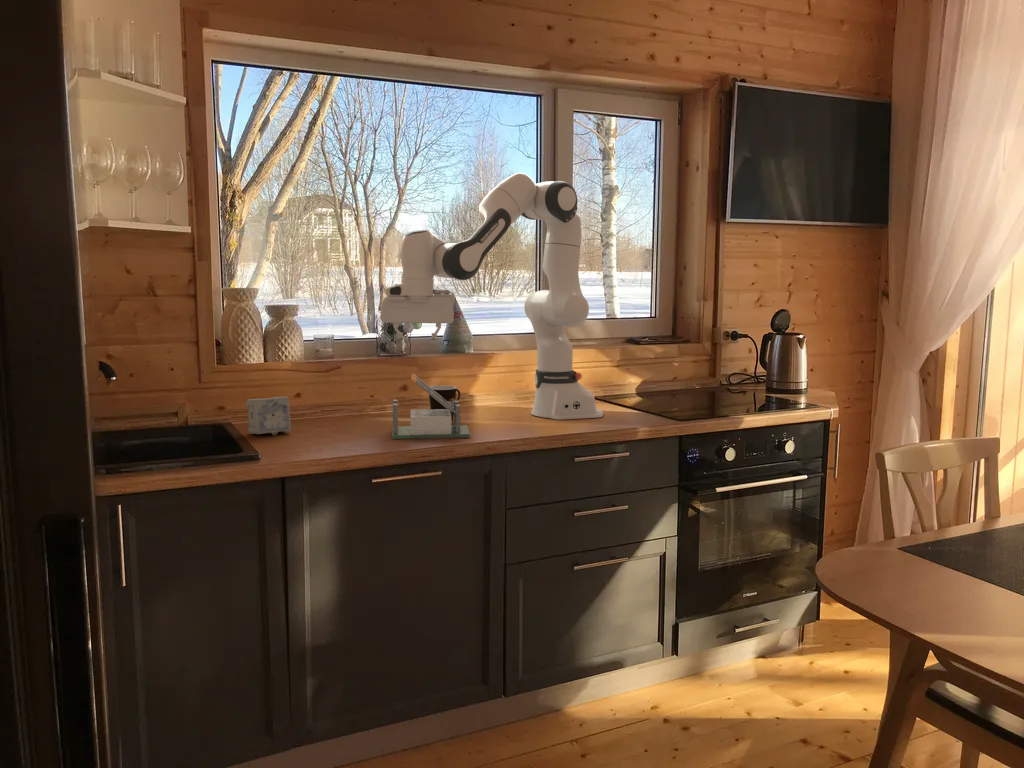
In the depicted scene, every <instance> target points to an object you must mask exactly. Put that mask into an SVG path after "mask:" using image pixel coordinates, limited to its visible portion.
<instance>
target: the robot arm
mask: <svg viewBox="0 0 1024 768" xmlns="http://www.w3.org/2000/svg"><path fill="white" fill-rule="evenodd" d="M478 210H479V211H478V212H479V216H480V219H481V220H482V222H483V223H482V224H480V226H479V227H478V228H477V229H476V230H475V232H473V234H472V235H471V236H470V237H469V238H467V239H466V240H464V241H459V242H447V241H446V240H445V241H444V240H442V239H441V238H439V237H437V236H436V235H435V234H433V232H432V231H431V230H430V229H419V230H412V231H408V232H407V233H405V234H404V236H403V238H402V243H401V255H400V257H401V260H400V261H401V265H402V272H401V273H402V274H401V279H400V280H401V282H400V283H396V284H393V285H391V286H388V287H386V288H385V290H384V293H385V294H384V295H386V296H385V297H384V298H383V300H382V302H381V308H380V315H379V316H380V318H379V319H380V321H381V322H382V323H384V324H385V323H386V324H387V323H390V324H393V329H394V331H395V332H396V334H397V336H396V337H397V340H403V339H404V335H403V333H404V332H401V331H400V330H399V329H398V327H399V326H400V325H399V324H435V328H436V330H435V332H432V333H431V341H432V340H433V341H437V339H438V333H439V331H440V330H441V328H442V324H452V323H454V322H455V318H454V317H455V316H454V315H455V313H454V306H455V304H456V295H455V294H454V292H452V291H450V290H448V289H445V290H444V289H443V290H442V289H434V285H435V284H434V280H435V279H434V277H438V278H447V279H455V280H460V281H466V280H470V279H471V278H473V277H474V276H475V275H476V274H477V273H478V272H479V271H480V267H481V266H482V263H483V261H484V259H485V257H486V255H488V253H490V251H491V250H492V248H494V246H495V245H496V244H497V243H498V242H499V241H500V239H502V237H503V236H504V234H506V232H507V231H508V229H510V227H511V225H513V224H514V223H515V222H516V221H517V220H518V219H519V217H520V216H522V217H523V218H524V219H527V220H530V221H531V220H532V221H535V220H538V221H539V220H540V221H545V225H546V235H545V241H544V251H543V252H544V253H543V259H542V272H543V273H544V274H545V275H546V277H547V280H548V281H547V282H548V286H549V287H548V289H549V290H548V289H541V290H538V291H534V292H532V293H530V294H529V295H528V296H527V298H526V299H525V301H524V305H523V306H524V313H525V315H526V317H527V318H528V320H529V321H530V323H531V326H532V329H533V332H534V336H535V337H534V338H535V340H536V342H535V343H536V351H537V352H536V356H537V357H536V360H537V361H536V365H537V366H536V370H535V374H534V375H535V377H534V381H535V382H534V383H535V385H534V386H535V395H534V397H535V398H534V401H533V407H532V410H531V413H530V414H531V415H533V416H536V417H540V418H548V419H553V420H559V421H561V420H576V419H578V420H579V419H593V418H594V419H595V418H603V416H604V412H603V410H601V409H600V408H597V403H596V399H595V396H594V394H593V393H592V392H590V391H589V390H588V389H587V388H586V387H585V386H584V385H582V384H581V383H580V382H579V380H582V378H583V375H582V373H581V372H577V371H575V370H573V349H574V348H573V344H572V343H571V341H570V340H569V338H568V336H567V334H566V329H565V328H571V327H576V326H579V325H582V324H583V323H584V322H586V320H587V319H588V315H589V311H590V307H589V302H588V300H587V299H586V298H585V296H584V295H583V292H582V289H581V283H580V278H579V276H580V275H579V268H580V267H579V265H580V254H581V246H582V220H581V217H580V215H579V214H578V213H577V212H578V194H577V191H576V189H575V188H574V186H573V185H572V184H571V183H569V182H566V181H562V180H557V181H555V180H554V181H552V180H551V181H550V180H549V181H542V182H539V183H535V181H534V179H533V178H531V177H530V176H529V175H527V173H523V172H515V173H514V174H512V175H510V176H508V177H507V178H505V179H503V180H502V181H501V182H500V183H498V184H497V185H495V187H493V189H491V190H490V191H489V192H488V193H487V194H486V195H485V196H484V197H483V199H482V201H481V202H480V204H479V207H478Z"/></svg>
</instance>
